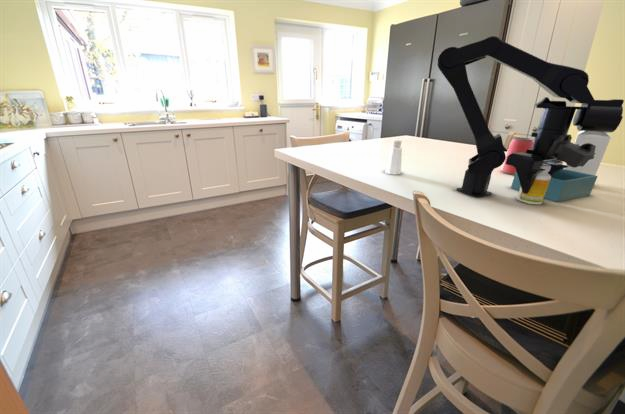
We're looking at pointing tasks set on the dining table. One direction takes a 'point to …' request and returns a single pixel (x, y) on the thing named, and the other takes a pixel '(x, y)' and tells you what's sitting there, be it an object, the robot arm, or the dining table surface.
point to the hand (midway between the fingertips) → (532, 191)
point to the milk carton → (601, 144)
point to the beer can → (517, 151)
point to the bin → (565, 185)
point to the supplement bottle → (537, 187)
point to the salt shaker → (394, 158)
